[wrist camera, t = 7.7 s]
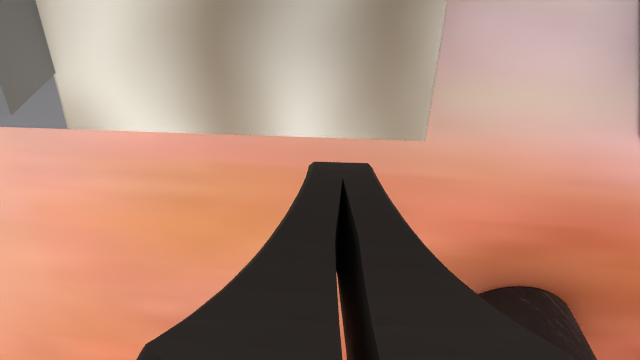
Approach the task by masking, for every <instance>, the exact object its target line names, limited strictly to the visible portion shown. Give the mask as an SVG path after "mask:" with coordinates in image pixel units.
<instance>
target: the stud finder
mask: <svg viewBox="0 0 640 360" xmlns="http://www.w3.org/2000/svg"><path fill="white" fill-rule="evenodd" d="M54 74H55V69H54V65H53V62H52V58H51V55H50V51H49V47H48V44H47V40H46V36H45V33H44V29H43V26H42V22H41V18H40V15H39V11H38V8H37V4H36V0H0V116H12V115H13V114H14V113H15V112H16V111H17V110H18V109H19V108H20V107H21V106H22V105H23V104H24V103H25V102H26V101H27V100H28V99H29V98H30V97H31V96H32V95H33V94H34V93H35V92H37V91H38V90H39V89H40V88H41V87H42V86H43V85H44V84H45V83H46V82H47V81H48V80H49V79H50V78H51V77H52V76H53V75H54Z"/></svg>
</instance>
